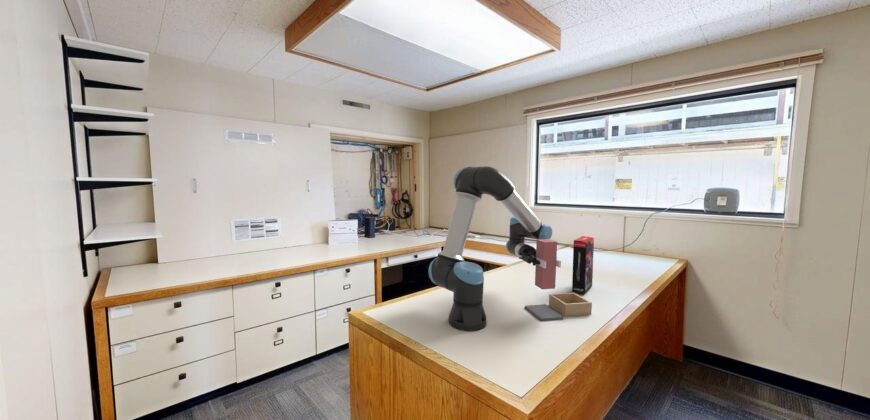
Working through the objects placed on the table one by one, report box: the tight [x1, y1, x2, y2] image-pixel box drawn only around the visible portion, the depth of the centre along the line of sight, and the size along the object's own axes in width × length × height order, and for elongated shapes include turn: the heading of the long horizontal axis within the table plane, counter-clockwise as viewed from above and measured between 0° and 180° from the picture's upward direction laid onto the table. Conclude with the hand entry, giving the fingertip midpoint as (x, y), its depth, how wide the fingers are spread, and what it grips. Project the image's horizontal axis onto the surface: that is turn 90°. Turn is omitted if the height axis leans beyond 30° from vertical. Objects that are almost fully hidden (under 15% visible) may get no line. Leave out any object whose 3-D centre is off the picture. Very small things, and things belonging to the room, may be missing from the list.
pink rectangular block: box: [534, 238, 558, 290], centre depth 139 cm, size 6×6×20 cm
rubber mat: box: [524, 303, 564, 322], centre depth 141 cm, size 10×14×1 cm
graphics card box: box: [571, 235, 595, 295], centre depth 172 cm, size 17×7×27 cm, turn 143°
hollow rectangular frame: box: [548, 292, 593, 317], centre depth 146 cm, size 13×13×5 cm
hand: (552, 264), depth 134 cm, fingers closed on pink rectangular block, 6 cm apart
